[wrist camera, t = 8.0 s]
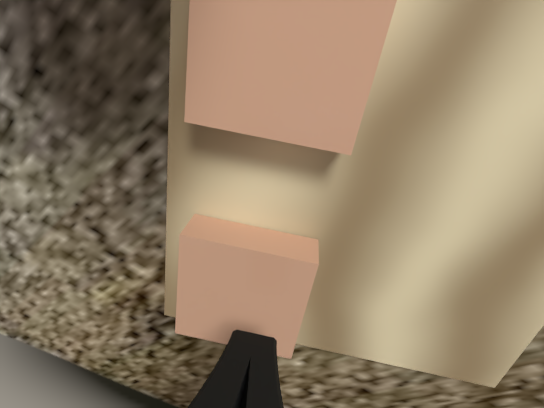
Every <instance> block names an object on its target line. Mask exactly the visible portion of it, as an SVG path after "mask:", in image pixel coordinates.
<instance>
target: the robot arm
mask: <svg viewBox="0 0 544 408" xmlns="http://www.w3.org/2000/svg"><path fill="white" fill-rule="evenodd" d="M188 408H284V407H283V402H282V396H281V390H280V383H279V374H278V365H277V341H276V339H275V338H274V337H269V336H265V335H260V334H255V333H251V332H246V331H242V330H235V331H233V332H232V335H231V337H230V340H229V342H228V344H227V346H226V348H225V350H224V352H223V354H222V355H221V357H220V359H219V361H218V362H217V364H216V366H215V368H214V369H213V371H212V372H211V374H210V375H209V377H208V379H207V380H206V382H205V383H204V385H203V386H202V388H201V389H200V391H199V392H198V394H197V395H196V397H195V398H194V400H193V401H192V402H191V404H190V405H189V406H188Z"/></svg>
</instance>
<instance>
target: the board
mask: <svg viewBox="0 0 544 408" xmlns="http://www.w3.org/2000/svg"><path fill="white" fill-rule="evenodd" d="M189 1H190V0H171V15H170V65H169V114H168V164H167V213H166V263H165V312H164V315H167V316H172V317H176V303H177V279H178V256H179V235H180V233H181V232H182V230H183V229H184V228H185V226H186V225H187V224H188V222H189V221H190V219H191V218H192V217H193V215H194V214H199V215H204V216H208V217H213V218H218V219H223V220H227V221H232V222H237V223H242V224H247V225H251V226H256V227H261V228H266V229H270V230H275V231H280V232H285V233H289V234H294V235H299V236H304V237H309V238H313V239H318V241H319V266H318V269H317V273H316V276H315V279H314V283H313V286H312V290H311V293H310V296H309V300H308V303H307V307H306V310H305V313H304V317H303V320H302V323H301V327H300V330H299V334H298V337H297V340H296V344H299V345H303V346H308V347H312V348H317V349H321V350H326V351H331V352H335V353H340V354H344V355H349V356H353V357H358V358H362V359H367V360H371V361H376V362H380V363H385V364H389V365H394V366H399V367H403V368H408V369H412V370H417V371H421V372H426V373H430V374H435V375H439V376H444V377H448V378H453V379H458V380H462V381H467V382H471V383H476V384H480V385H485V386H489V387H494V388H495V387H496V385H497V384H498V383H499V381H500V380H501V379H502V378H503V376H504V375H505V374H506V373H507V371H508V370H509V369H510V367H511V366H512V365H513V364H514V362H515V361H516V360H517V358H518V357H519V356H520V355H521V353H522V352H523V351H524V350H525V348H526V347H527V346H528V344H529V343H530V342H531V341H532V339H533V338H534V337H535V335H536V334H537V333H538V332H539V330H540V329H541V328H542V327H543V325H544V0H397V2H396V5H395V8H394V12H393V15H392V19H391V22H390V25H389V29H388V32H387V36H386V39H385V42H384V46H383V49H382V53H381V56H380V59H379V63H378V66H377V69H376V73H375V76H374V80H373V83H372V86H371V90H370V93H369V97H368V100H367V103H366V107H365V110H364V114H363V117H362V120H361V124H360V127H359V130H358V134H357V137H356V141H355V144H354V147H353V151H352V154H351V155H346V154H341V153H336V152H331V151H326V150H321V149H316V148H311V147H306V146H301V145H296V144H291V143H286V142H281V141H276V140H271V139H266V138H261V137H256V136H251V135H246V134H241V133H236V132H231V131H227V130H222V129H217V128H212V127H207V126H202V125H197V124H192V123H187V122H184V117H185V94H186V71H187V48H188V24H189Z"/></svg>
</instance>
